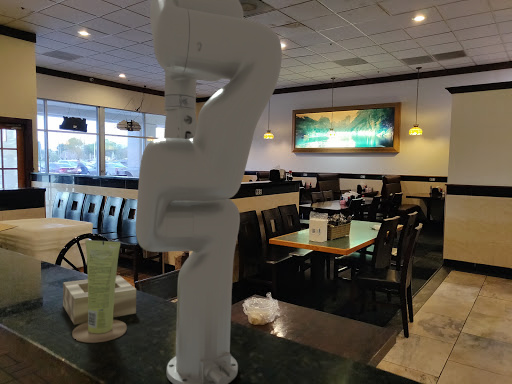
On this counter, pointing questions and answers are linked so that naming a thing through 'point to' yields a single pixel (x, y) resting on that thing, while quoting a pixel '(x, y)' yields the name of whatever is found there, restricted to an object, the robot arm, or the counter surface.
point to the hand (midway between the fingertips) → (178, 175)
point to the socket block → (78, 299)
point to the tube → (101, 283)
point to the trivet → (85, 336)
